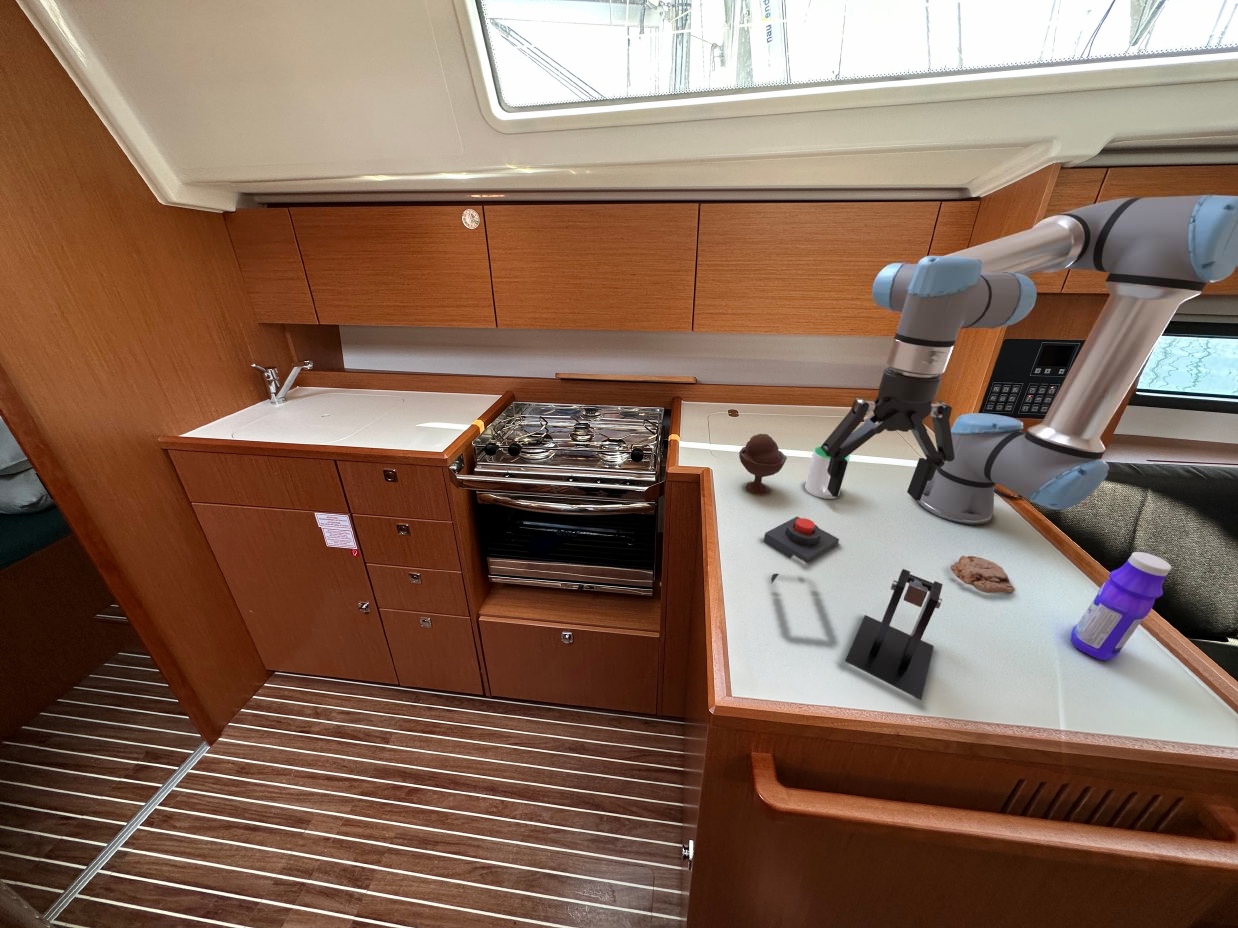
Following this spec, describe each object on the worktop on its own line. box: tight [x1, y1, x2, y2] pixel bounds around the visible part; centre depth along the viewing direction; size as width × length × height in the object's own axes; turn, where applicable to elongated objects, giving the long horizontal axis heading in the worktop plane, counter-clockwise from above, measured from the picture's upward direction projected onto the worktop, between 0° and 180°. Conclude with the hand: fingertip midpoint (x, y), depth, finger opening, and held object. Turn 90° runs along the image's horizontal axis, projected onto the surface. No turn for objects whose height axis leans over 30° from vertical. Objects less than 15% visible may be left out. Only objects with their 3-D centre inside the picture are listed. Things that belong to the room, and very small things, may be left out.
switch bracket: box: [844, 568, 943, 701], centre depth 68 cm, size 12×10×15 cm
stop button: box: [794, 517, 816, 535], centre depth 95 cm, size 4×4×2 cm
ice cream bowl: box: [738, 433, 788, 495], centre depth 113 cm, size 11×11×15 cm
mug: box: [804, 445, 851, 500], centre depth 113 cm, size 12×8×10 cm
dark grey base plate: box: [763, 516, 840, 563], centre depth 96 cm, size 11×10×4 cm
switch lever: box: [898, 570, 934, 608], centre depth 70 cm, size 12×5×2 cm, turn 142°
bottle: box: [1070, 551, 1172, 661], centre depth 71 cm, size 7×6×17 cm
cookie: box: [950, 555, 1016, 594], centre depth 88 cm, size 10×11×3 cm
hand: (872, 494), depth 79 cm, fingers open, 13 cm apart
